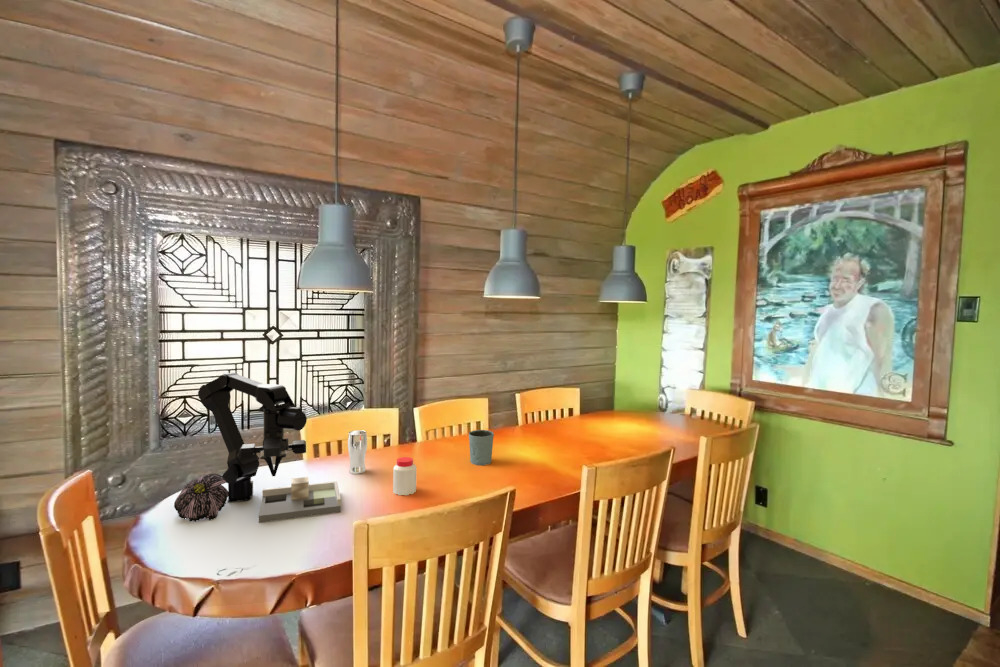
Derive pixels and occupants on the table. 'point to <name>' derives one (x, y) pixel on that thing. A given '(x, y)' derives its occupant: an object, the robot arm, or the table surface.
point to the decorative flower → (202, 498)
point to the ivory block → (299, 488)
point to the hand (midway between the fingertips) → (273, 475)
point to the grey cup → (481, 446)
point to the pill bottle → (404, 476)
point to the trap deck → (299, 502)
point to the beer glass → (357, 451)
